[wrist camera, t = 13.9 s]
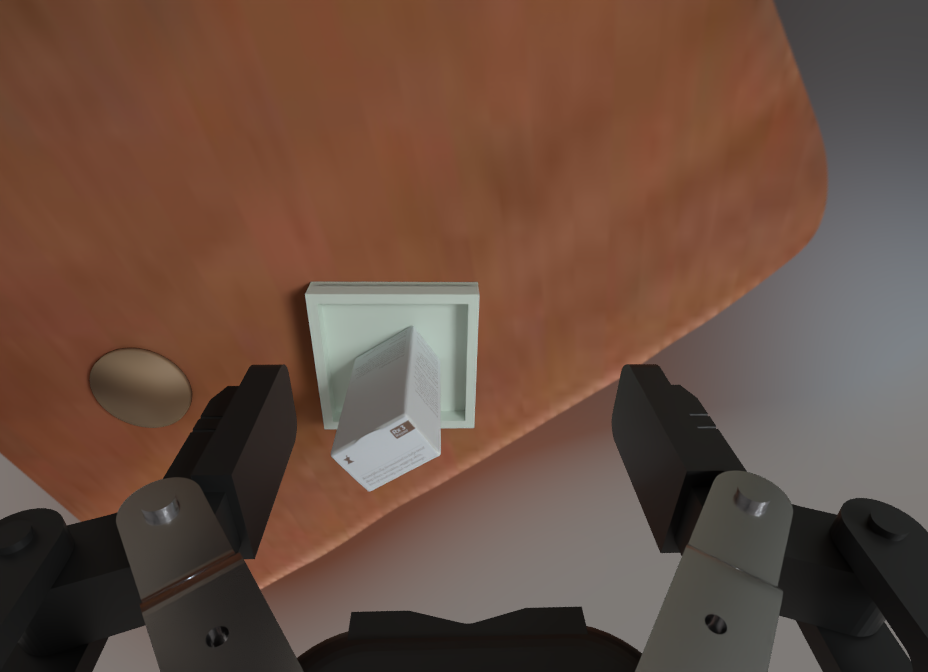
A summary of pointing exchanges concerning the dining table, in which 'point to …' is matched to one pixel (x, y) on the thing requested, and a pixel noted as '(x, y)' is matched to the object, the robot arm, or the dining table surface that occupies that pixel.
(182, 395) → the coaster
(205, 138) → the dining table surface
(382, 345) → the skincare box
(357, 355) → the tray
